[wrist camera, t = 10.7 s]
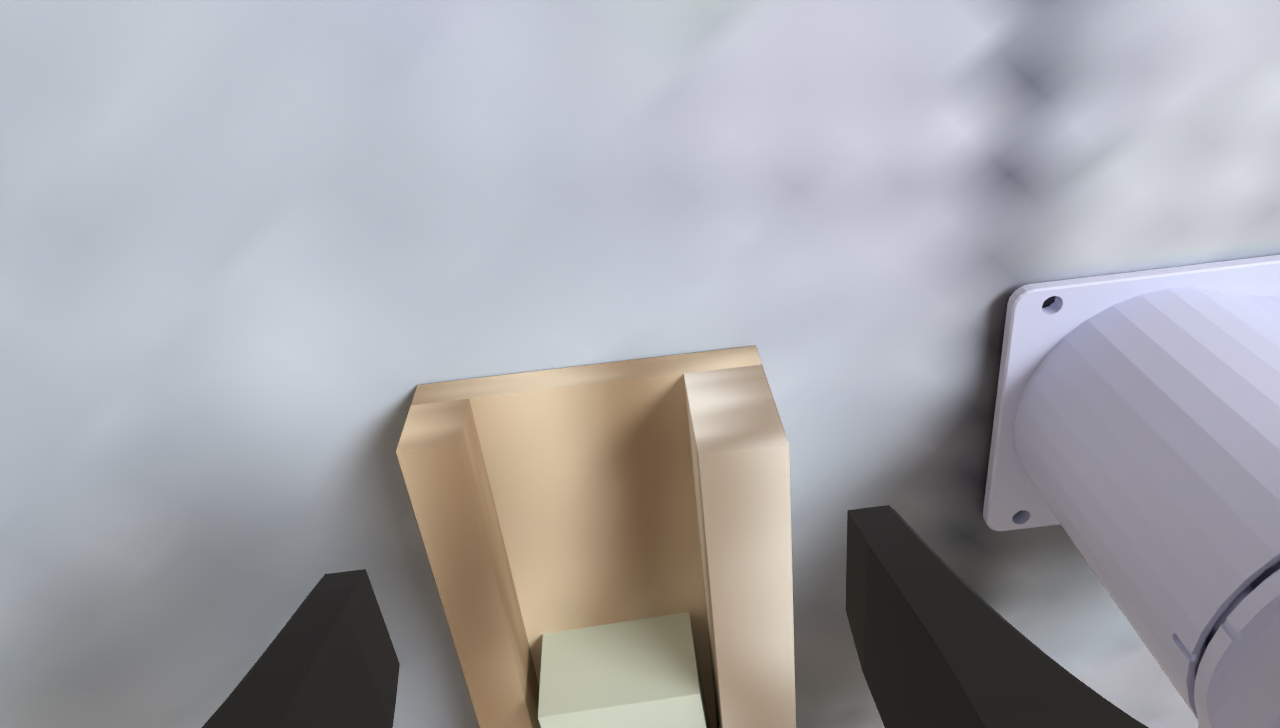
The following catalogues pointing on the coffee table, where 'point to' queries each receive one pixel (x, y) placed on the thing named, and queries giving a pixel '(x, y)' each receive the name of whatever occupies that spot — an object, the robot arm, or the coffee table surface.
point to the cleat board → (610, 521)
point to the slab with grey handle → (623, 676)
